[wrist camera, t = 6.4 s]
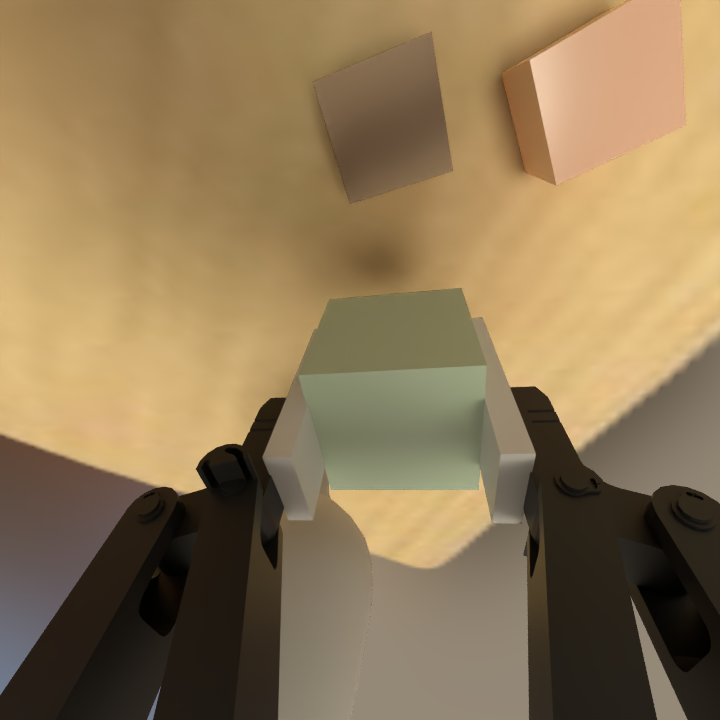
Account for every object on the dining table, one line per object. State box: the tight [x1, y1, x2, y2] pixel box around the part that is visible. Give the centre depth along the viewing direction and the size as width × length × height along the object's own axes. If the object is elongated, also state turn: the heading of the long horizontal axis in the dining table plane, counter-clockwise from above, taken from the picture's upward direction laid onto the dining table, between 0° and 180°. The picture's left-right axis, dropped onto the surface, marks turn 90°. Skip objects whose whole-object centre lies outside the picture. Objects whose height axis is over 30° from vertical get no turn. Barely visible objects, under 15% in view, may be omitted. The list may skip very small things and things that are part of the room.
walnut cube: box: [313, 32, 453, 204], centre depth 18 cm, size 5×5×5 cm
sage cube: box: [298, 288, 487, 490], centre depth 13 cm, size 5×5×5 cm
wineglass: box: [278, 469, 373, 720], centre depth 23 cm, size 8×8×21 cm
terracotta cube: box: [501, 0, 686, 186], centre depth 16 cm, size 5×5×5 cm
